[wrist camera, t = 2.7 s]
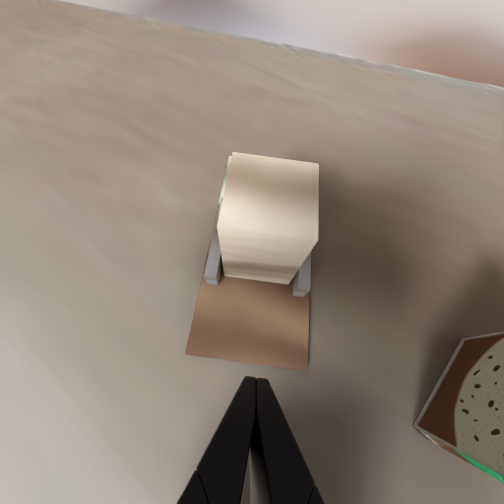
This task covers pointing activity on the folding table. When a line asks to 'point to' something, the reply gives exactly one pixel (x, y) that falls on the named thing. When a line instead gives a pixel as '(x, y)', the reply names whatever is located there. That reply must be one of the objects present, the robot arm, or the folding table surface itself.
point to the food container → (470, 405)
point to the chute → (250, 314)
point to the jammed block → (268, 217)
